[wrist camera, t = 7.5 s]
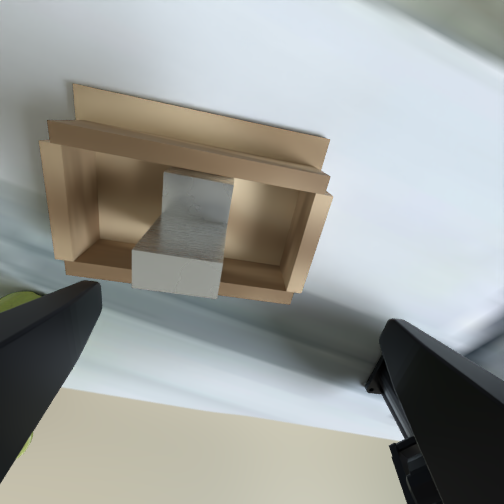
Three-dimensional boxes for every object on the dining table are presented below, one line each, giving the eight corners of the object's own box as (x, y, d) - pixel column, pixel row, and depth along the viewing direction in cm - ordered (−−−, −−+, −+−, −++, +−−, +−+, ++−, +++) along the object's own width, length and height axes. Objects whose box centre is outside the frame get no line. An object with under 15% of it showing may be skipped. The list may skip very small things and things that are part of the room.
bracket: (224, 240, 19) (217, 298, 13) (167, 231, 19) (131, 287, 12) (234, 178, 17) (231, 211, 11) (171, 166, 17) (131, 193, 11)
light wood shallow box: (282, 292, 22) (290, 325, 19) (91, 265, 20) (60, 297, 17) (327, 138, 17) (350, 143, 14) (78, 84, 15) (29, 73, 12)
